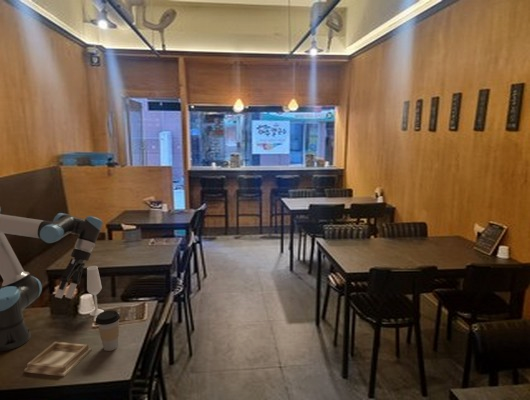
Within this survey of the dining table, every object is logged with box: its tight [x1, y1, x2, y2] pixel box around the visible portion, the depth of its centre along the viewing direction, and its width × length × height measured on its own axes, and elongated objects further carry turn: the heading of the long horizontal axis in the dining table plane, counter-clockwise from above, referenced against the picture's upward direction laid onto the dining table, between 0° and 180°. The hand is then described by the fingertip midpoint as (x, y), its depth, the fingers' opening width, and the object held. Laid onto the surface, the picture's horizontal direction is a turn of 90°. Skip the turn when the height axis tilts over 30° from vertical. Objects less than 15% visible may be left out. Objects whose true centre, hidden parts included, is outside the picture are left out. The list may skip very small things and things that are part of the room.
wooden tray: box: [23, 341, 93, 377], centre depth 151 cm, size 17×17×3 cm
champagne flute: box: [86, 265, 105, 317], centre depth 188 cm, size 7×7×24 cm
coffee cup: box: [95, 309, 121, 352], centre depth 159 cm, size 9×9×15 cm
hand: (63, 297), depth 162 cm, fingers open, 13 cm apart
